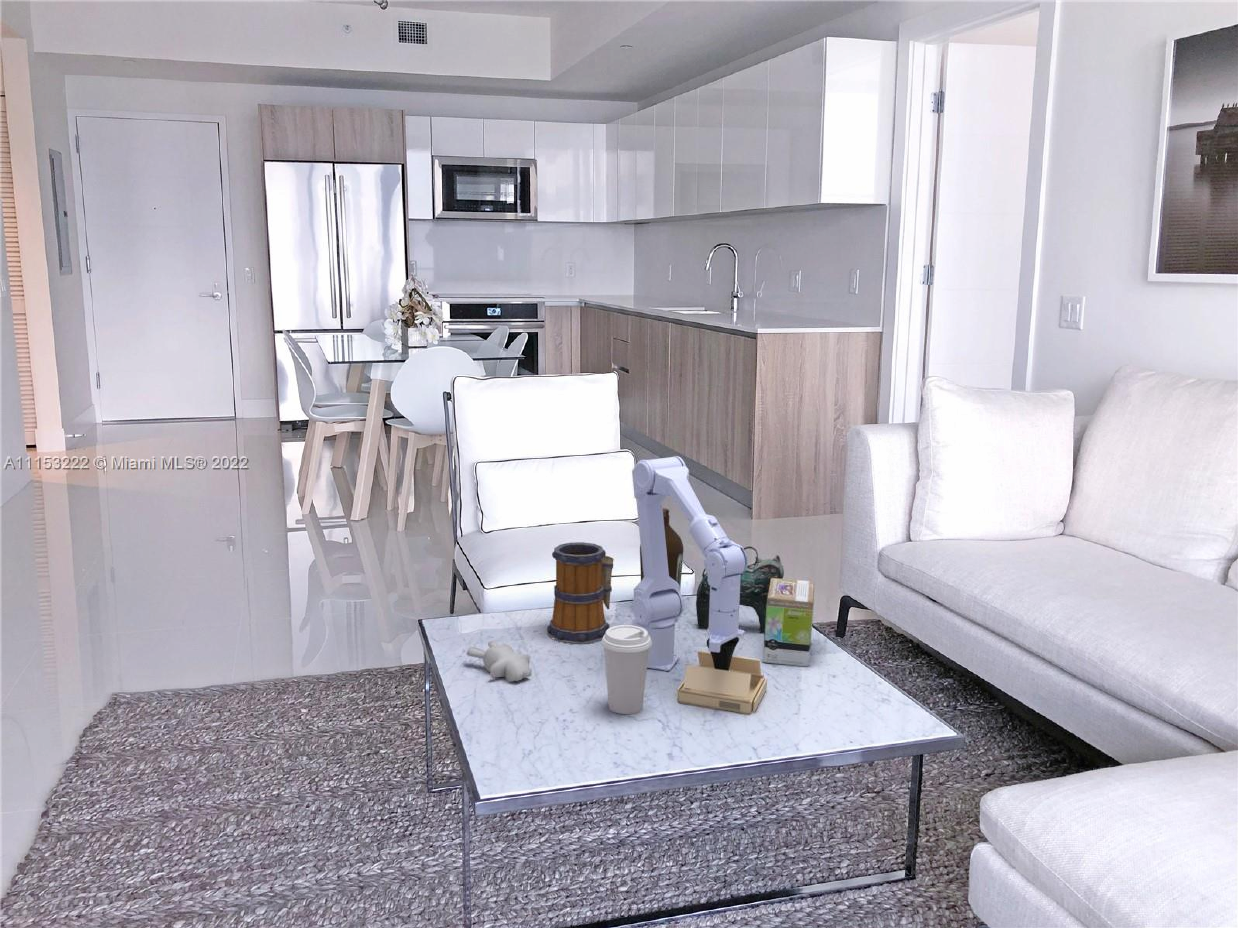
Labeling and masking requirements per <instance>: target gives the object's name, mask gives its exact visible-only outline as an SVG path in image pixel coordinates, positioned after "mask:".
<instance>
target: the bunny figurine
mask: <svg viewBox="0 0 1238 928" xmlns="http://www.w3.org/2000/svg"><path fill="white" fill-rule="evenodd" d="M487 645H488V647H489V648H487V649H486V650H484V649H481V648H477V647H475V646H474V647H473V646H471V647H468V649H467V651H466V655H467V656H468V657H471V658H477V659H478V658H479V659H482V661H483V665H484V668H485V669H486V670H487V671H488V672H489V677H491V678H504V679H505V681H507V682H508V683H513V682H519V681H521V680H523V679H526V678H529V677H532V674H533V673H532V670H533V669H532V668H531V667H530V660H531V659H530V658H531V656H529V654H525V653H517V652H515V650H514V648H513V647H512V646H511V645H508V644H506V643H504V644H499V643H498V641H497V640H490V641H489V642H488V643H487Z"/></svg>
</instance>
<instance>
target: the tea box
mask: <svg viewBox="0 0 1238 928" xmlns="http://www.w3.org/2000/svg"><path fill="white" fill-rule="evenodd" d="M814 598H815V581H812V580H811V581H810V580H800V579H799V580H797V579H786V578H783V579H778V578H771V580H770V586H769V592H768V598H767V606H766V621H765V633H764V638H763V639H764V642H763V654H762V662H763V663H768V664H777V665H786V666H798V667H809V664H810V654H811V642H812V635H813V634H812V633H813V631H812V630H813V618H814V617H813V616H814V603H815V601H814V600H815V599H814Z"/></svg>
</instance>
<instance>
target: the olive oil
mask: <svg viewBox="0 0 1238 928" xmlns="http://www.w3.org/2000/svg"><path fill="white" fill-rule="evenodd" d="M662 508H663V519H664V529H665V540H666V550H667V561H668V571H669V577H670V578H672V579H673V580H675V581H676V582H677V583H678V584H679V589H680V590H681V584H682V572H683V561H684V544H683V541H682V539H681V536H680V535H679V534H678V533H677V532H676V531H675V530H674V528H673V527H672V526H671V525H670V514H669V513H670V509H669V508H666V507H662ZM639 545H640V546H639V561H640V562H639V563H640V564H639V565H640V567H639V569H640V582H641V581H642V579H643V578H644V574H643V564H642V554H641V543H639ZM662 591H663V590H662ZM657 592H658V591H657Z"/></svg>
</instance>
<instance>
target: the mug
mask: <svg viewBox="0 0 1238 928" xmlns="http://www.w3.org/2000/svg"><path fill="white" fill-rule="evenodd" d="M553 549H554V551H553V552H552V553H551V556H552V558H553V559H555V585H554V586H553V590H554V591H553V593H554V595H553V596H554V601H553V608H552V609H553V610H552V617H551V618H552V619H551V620H550V621H549V625H548V626H546V632H548V633H547V636H549V637H550V638H549V637H548V638H549V639H551V638H554V639H555V640H556V641H555V640H554V641H555V642H557V641H558V642H557V643H560V642H565V643H564V644H566V643H570V644H569V645H573V644H578V645H591V643H592V644H595V643H594V642H596V643H599V642H601V641H602V638H603V636H604V635H605V633H606V631H607V629H609V628H610V624H609V622H607V621H606V618H605V610H604V606H605V608H606V609H607V610H610V606H611V605H610V603H611V593H612V592H613V589H612V576H613V575H612V574H613V569H614V558H613V557H611V556H608V555H607V553H606V550H605V549H604V548H603V547H602V545H598V544H596V543H591V542H585V541H584V542H583V541H581V542H580V541H579V542H567V543H561V544H558V545H557V546H555V547H554V548H553Z"/></svg>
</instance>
